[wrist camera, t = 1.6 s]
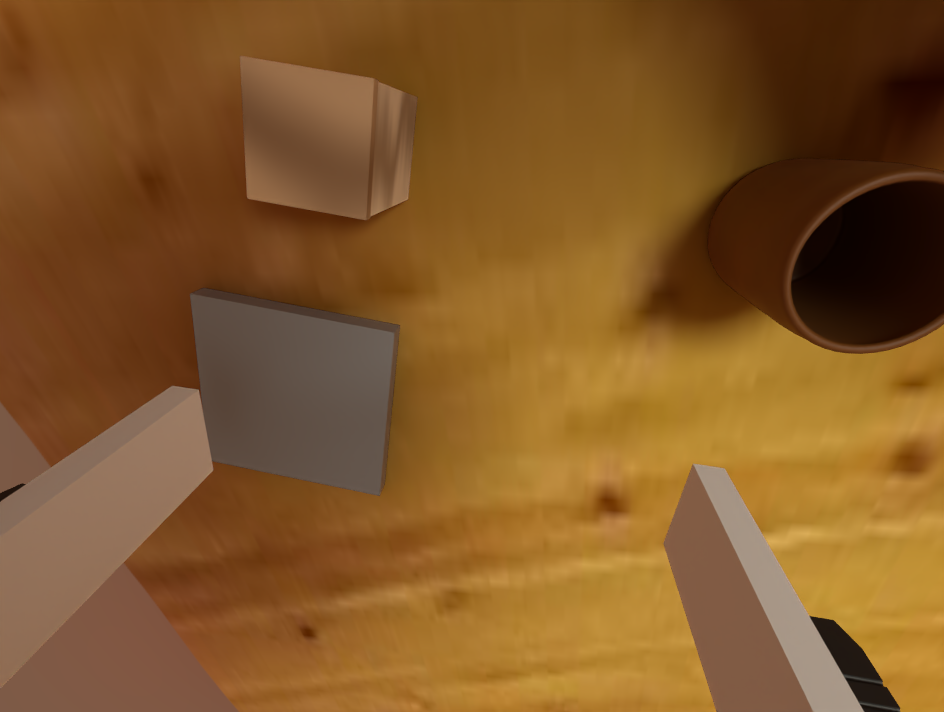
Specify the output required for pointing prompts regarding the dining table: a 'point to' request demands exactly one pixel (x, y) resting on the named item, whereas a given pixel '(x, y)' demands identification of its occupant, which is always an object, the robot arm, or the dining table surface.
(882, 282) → the mug
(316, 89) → the oak block
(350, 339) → the slate board
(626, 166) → the dining table surface
